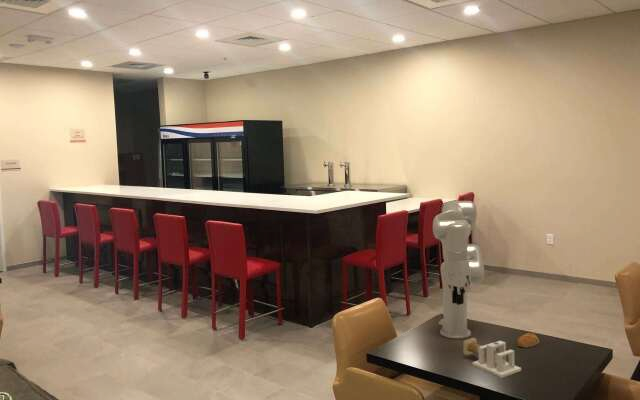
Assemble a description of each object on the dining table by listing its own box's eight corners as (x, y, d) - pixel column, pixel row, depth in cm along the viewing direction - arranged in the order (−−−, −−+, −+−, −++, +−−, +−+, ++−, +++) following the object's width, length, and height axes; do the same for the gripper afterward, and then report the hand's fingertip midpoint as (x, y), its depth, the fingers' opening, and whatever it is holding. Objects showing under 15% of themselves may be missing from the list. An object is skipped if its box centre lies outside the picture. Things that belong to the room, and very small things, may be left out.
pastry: (528, 350, 196) (528, 340, 196) (512, 346, 201) (512, 336, 201) (540, 343, 202) (540, 334, 202) (524, 339, 207) (524, 330, 207)
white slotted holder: (472, 365, 185) (472, 340, 184) (491, 358, 190) (491, 335, 189) (501, 377, 173) (501, 352, 173) (521, 370, 178) (521, 345, 178)
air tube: (463, 353, 191) (463, 340, 191) (473, 350, 194) (473, 337, 193) (496, 367, 178) (496, 353, 177) (507, 364, 180) (507, 350, 180)
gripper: (435, 254, 199) (436, 300, 200) (465, 260, 185) (466, 310, 187) (449, 251, 202) (450, 297, 204) (480, 257, 189) (480, 306, 191)
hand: (457, 303), depth 195 cm, fingers closed
